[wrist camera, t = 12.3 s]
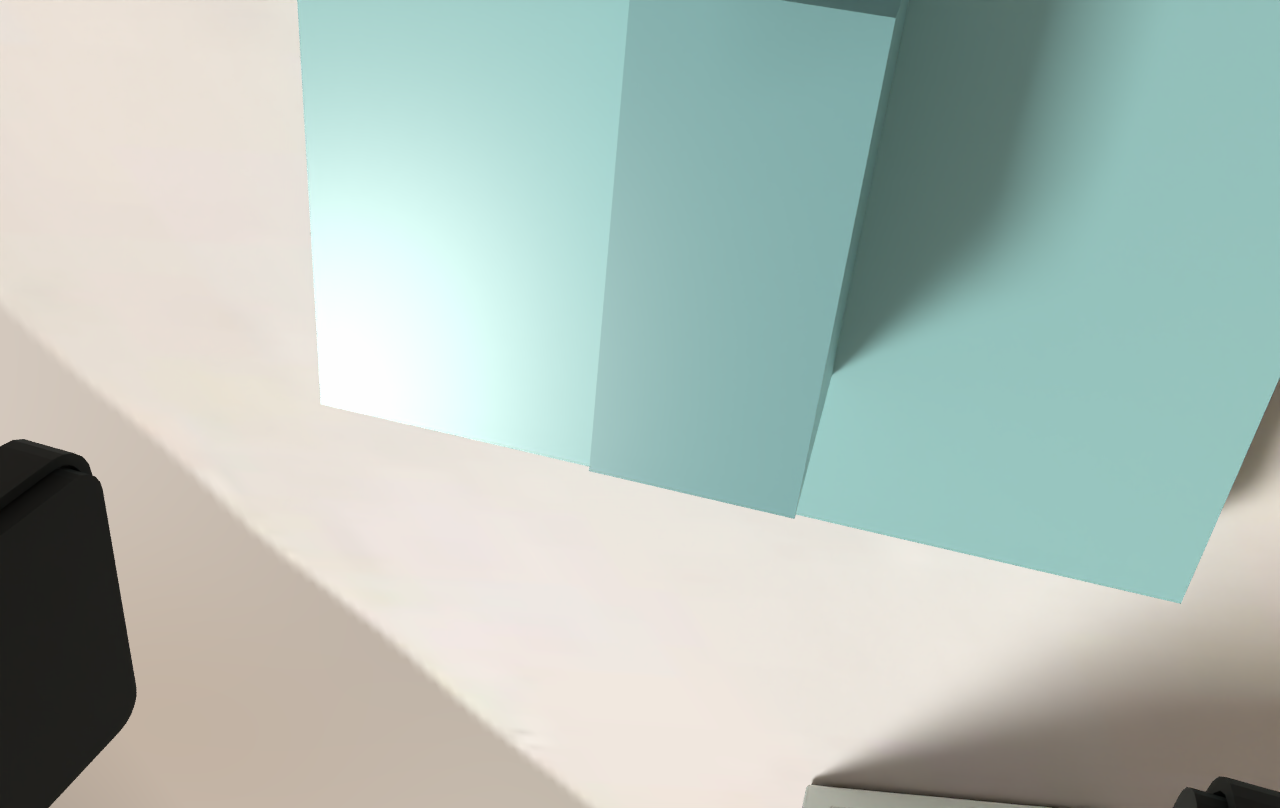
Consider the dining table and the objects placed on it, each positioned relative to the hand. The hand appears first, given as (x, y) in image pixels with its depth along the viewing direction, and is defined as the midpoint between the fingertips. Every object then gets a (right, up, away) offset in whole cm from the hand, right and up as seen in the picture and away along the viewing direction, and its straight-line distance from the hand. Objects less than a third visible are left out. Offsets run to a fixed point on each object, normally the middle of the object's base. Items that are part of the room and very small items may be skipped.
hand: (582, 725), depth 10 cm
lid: (+4, +8, +14) cm, 17 cm away
